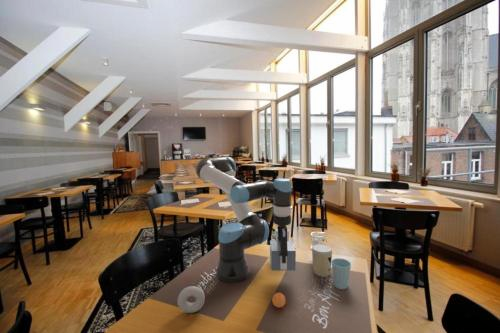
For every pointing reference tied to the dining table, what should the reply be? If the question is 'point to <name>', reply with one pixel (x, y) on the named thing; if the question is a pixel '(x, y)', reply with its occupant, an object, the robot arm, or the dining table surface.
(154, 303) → the dining table surface
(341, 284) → the cup
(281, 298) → the ball
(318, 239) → the white hollow stepped cylinder
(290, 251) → the slate blue cube
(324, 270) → the coffee cup
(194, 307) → the grey ring
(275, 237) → the syrup box
